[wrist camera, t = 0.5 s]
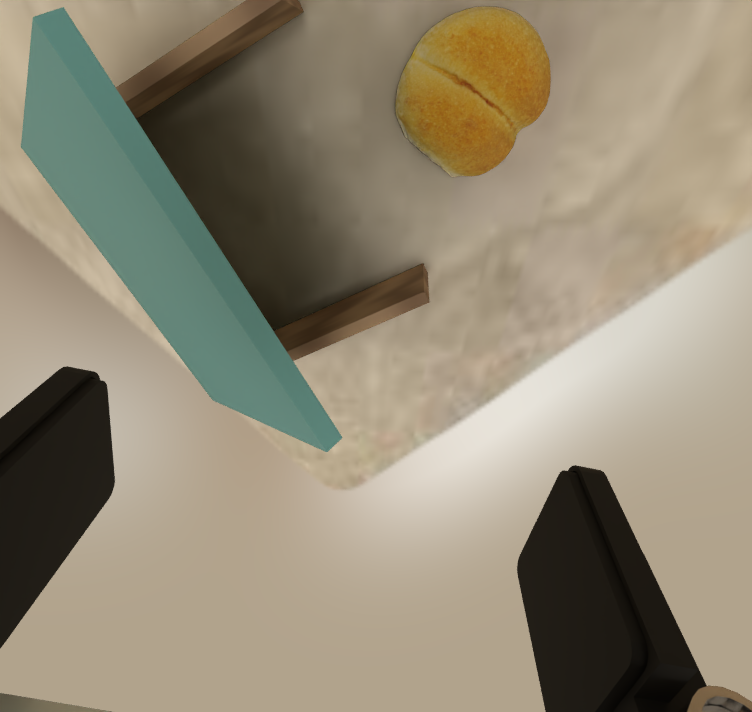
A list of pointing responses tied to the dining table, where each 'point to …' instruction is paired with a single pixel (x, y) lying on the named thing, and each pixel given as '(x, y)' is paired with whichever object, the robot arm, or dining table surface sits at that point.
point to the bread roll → (473, 88)
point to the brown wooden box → (197, 58)
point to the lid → (156, 235)
